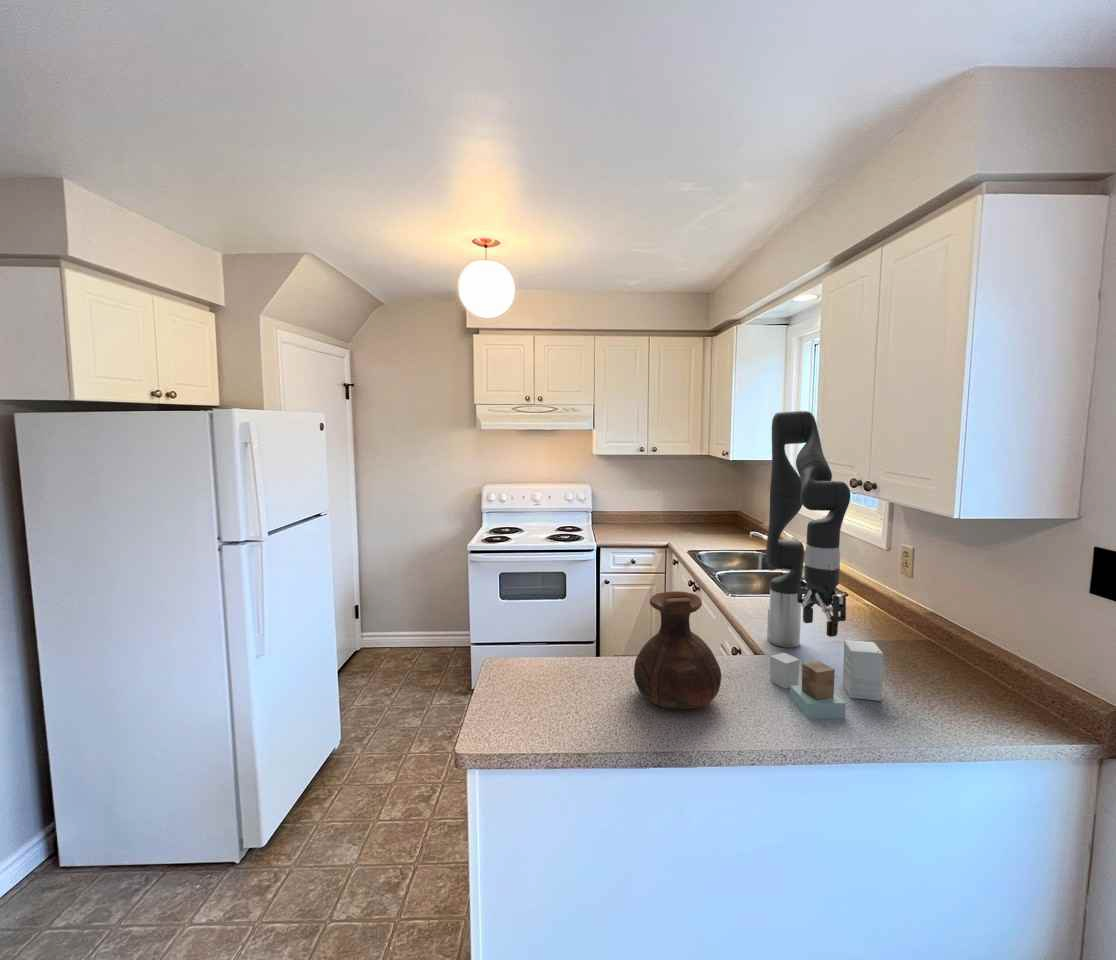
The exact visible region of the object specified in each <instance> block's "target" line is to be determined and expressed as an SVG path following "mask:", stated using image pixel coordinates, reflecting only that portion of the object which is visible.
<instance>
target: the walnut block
mask: <svg viewBox="0 0 1116 960" xmlns="http://www.w3.org/2000/svg"><path fill="white" fill-rule="evenodd" d="M801 666H802V667H801V685H802V691H803V692H804V693H806V694H807V695H809V696H810V697H812V698H813V699H815V700H816V701H817V700H822V699H827V698H833V697H834V693H835V692H834V691H835V674H836V673H835V669H834V668H833V667H831V666H829V665H827V664H825V663H823V661H820V660H817V661H810V662H809V661H808V662H804V663H802V664H801Z"/></svg>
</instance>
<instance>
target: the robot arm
mask: <svg viewBox="0 0 1116 960" xmlns="http://www.w3.org/2000/svg"><path fill="white" fill-rule="evenodd" d="M771 421H772V423H771V475H770V484H769V485H770V486H769V487H770V488H769V519H768V520H769V522H768V530H767V540H766V541H767V542H766V551H765V560H766V565H767V566H768V567H769V568H771V569H772V568H773V569H780V570H781V569H782V570H790V571H789V572H787V573H786V574H784V575H779V576H775V577H773V578H771V579H770V582H769V608H768V610H767V629H766V630H767V634H766V636H767V639H768V642H769V643H770V644H772V645H774V646H777V647H782V648H796V647H799V646H800V643H801V642H800V641H801V619H802V621H803V623H805V624H811V623H813V621H814V608H813V607H814V605H817V606H818V607H820V608H821V611H822V613H824V614H825V617H826V619H827V620H826V636H828V637H830V638H831V637H836V636H837V635H838V633H839V631H838V629H839V628H838V627H839V622H845V621H846V620H847V617H846V616H847V599H846V595H844V594H842V595H839V594H837V593H836V587H837V586H839V584H840V570H841V569H840V566H841V553H840V541H841V540H840V538H841V529H842V528H841V527H842V524H843V521H844V518H845V516H846V513H847V510H848V507H849V505H850V503H851V495H852V494H851V490H850V488H849V486H848V484H847V483H845V482H844V481H841V480H833V473H832V470H831V468H830V466H829V464H828V462H827V459H826V458H825V454H824V453H823V448H822V443H821V437H820V433H819V429H818V426H817V422H816V419H815V416H814V415H813V413H812V412H811V411H807V410H795V411H780V412H776V413H775V414H774V415H773V417H772V420H771ZM793 444H794V445H795V444H796V445H798V444H801V445H802V444H804V446H802V447H801V449H800V450H799V452H798V454H797V456H796V457H795V458H796V459H795V467H796V469H795V468H794V466H793V465H792V464H791V462H790V460H789V458H788V457H787V456H788V455H787V454H786V450H785V449H786V445H793ZM796 470H797V471H796ZM802 507H803V508H805V509H806V510H808V511H817V512H818V511H821V512H822V511H826V512H828V513H827V515H826V516H825V517H822V518H817V519H814V520H813V519H812V520H810V521H809V522H808V523H807V527H806V546H805V547H804V544H803V542H802V541H801V540H797V539H796V540H795V539H780V538H781V536H782V535H781V534H782V533H783V531H784V530H785V529H786V527H787V525H788V524H789V523H790V522H791V521H792V520H793V519H794V518H795V517H796V516H797V514H798V513H799V512H800V511H801V509H802ZM803 567H804V569H803ZM803 570H804V573H803ZM803 574H804V575H803ZM803 595H804V596H803ZM830 606H831V607H830ZM839 612H840V614H839ZM831 613H832V614H831ZM801 615H802V617H801Z"/></svg>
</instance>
